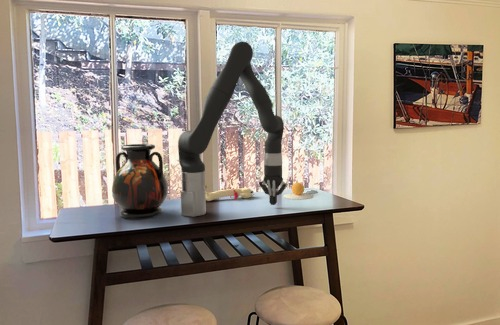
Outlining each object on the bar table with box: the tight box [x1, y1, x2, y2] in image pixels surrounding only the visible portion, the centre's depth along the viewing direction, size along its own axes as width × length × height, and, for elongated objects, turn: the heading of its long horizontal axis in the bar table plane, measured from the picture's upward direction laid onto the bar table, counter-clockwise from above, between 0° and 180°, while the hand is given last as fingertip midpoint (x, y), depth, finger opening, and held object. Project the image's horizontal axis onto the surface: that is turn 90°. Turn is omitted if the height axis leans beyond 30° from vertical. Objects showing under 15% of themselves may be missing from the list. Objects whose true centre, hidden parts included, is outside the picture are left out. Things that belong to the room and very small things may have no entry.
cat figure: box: [205, 184, 255, 202], centre depth 199 cm, size 10×9×25 cm
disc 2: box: [305, 189, 318, 195], centre depth 214 cm, size 10×10×1 cm
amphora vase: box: [111, 143, 169, 220], centre depth 170 cm, size 22×22×28 cm
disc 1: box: [283, 192, 314, 200], centre depth 204 cm, size 14×14×1 cm
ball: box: [291, 182, 305, 195], centre depth 207 cm, size 6×6×6 cm
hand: (273, 204), depth 180 cm, fingers closed
